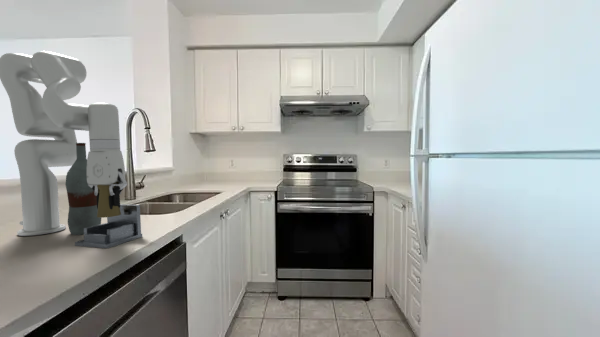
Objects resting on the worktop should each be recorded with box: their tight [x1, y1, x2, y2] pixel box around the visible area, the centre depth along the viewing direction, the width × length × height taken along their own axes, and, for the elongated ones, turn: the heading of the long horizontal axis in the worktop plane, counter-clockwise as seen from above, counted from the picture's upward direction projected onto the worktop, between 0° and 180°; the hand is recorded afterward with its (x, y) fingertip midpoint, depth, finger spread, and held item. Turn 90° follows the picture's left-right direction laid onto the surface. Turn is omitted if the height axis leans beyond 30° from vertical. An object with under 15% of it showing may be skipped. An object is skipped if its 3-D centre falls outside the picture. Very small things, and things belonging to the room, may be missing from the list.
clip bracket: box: [74, 203, 143, 249], centre depth 89 cm, size 12×12×10 cm
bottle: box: [65, 142, 102, 236], centre depth 101 cm, size 9×9×30 cm
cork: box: [97, 182, 121, 219], centre depth 88 cm, size 6×6×11 cm
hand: (108, 207), depth 89 cm, fingers closed on cork, 3 cm apart
